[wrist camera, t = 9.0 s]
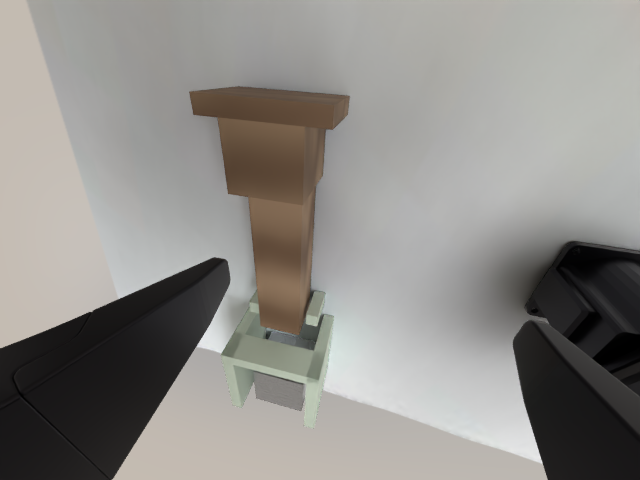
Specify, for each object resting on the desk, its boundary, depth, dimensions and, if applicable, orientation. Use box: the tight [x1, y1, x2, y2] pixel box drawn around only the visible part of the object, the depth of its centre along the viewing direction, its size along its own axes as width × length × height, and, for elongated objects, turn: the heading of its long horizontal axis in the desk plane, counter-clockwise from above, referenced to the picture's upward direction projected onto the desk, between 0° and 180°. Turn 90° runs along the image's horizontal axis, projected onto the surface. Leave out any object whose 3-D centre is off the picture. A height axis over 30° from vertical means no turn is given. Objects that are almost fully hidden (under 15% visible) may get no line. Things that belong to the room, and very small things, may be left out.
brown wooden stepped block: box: [189, 86, 350, 335], centre depth 19 cm, size 18×7×5 cm, turn 176°
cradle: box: [221, 290, 334, 428], centre depth 26 cm, size 8×11×7 cm
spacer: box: [253, 331, 315, 411], centre depth 29 cm, size 5×5×5 cm
